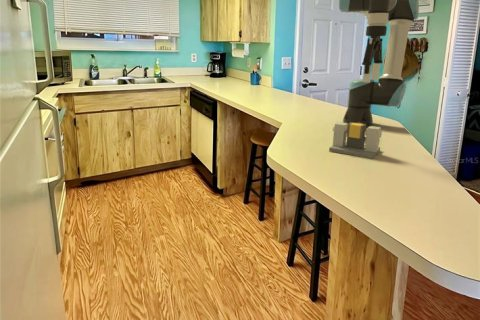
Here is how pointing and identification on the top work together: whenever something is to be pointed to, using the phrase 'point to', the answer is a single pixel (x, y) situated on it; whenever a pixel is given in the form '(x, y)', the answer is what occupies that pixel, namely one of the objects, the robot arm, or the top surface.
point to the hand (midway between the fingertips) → (370, 80)
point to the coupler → (356, 130)
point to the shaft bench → (356, 141)
